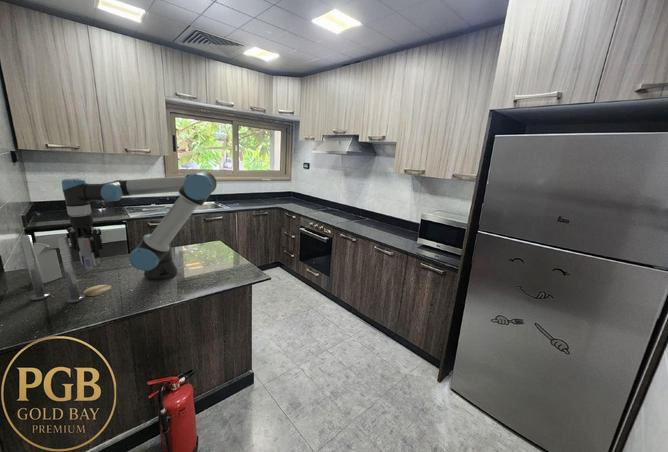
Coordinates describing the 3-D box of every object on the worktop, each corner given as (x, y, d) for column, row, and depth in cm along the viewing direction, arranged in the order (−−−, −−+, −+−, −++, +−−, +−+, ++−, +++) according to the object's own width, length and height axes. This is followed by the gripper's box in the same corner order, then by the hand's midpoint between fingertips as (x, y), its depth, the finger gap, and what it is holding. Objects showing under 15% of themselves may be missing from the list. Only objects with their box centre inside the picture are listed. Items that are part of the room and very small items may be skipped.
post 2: (88, 296, 121) (76, 236, 114) (75, 304, 115) (62, 240, 108) (76, 295, 121) (63, 235, 114) (62, 303, 115) (47, 239, 108)
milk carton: (45, 283, 130) (36, 246, 125) (34, 281, 131) (24, 244, 126) (62, 277, 137) (54, 242, 132) (51, 275, 138) (43, 240, 133)
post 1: (54, 294, 121) (40, 234, 114) (40, 301, 116) (24, 238, 108) (42, 293, 122) (26, 233, 114) (26, 300, 116) (9, 237, 109)
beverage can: (103, 265, 126) (97, 234, 122) (94, 270, 121) (87, 238, 117) (90, 265, 126) (84, 234, 122) (80, 270, 120) (73, 238, 117)
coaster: (116, 286, 131) (116, 285, 131) (98, 296, 121) (98, 295, 121) (97, 285, 131) (96, 284, 131) (77, 295, 122) (76, 294, 121)
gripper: (107, 213, 120) (116, 262, 126) (69, 211, 121) (80, 260, 127) (91, 217, 113) (102, 268, 119) (51, 215, 114) (64, 266, 120)
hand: (90, 264), depth 123 cm, fingers closed on beverage can, 5 cm apart
